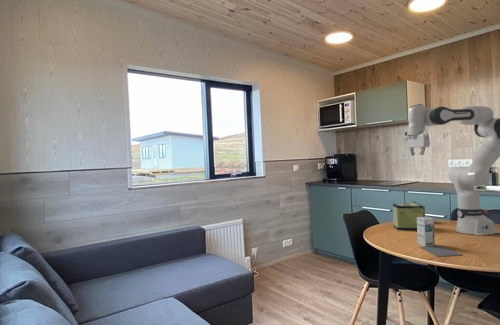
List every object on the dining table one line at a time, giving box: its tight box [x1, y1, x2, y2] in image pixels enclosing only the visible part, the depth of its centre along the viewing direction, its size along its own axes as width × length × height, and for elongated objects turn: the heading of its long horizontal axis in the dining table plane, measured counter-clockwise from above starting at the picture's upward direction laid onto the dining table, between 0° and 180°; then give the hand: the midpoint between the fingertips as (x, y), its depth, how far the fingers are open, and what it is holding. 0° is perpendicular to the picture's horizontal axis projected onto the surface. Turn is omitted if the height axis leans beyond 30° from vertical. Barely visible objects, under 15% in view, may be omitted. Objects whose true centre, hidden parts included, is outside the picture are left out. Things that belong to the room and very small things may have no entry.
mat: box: [419, 245, 463, 257], centre depth 156 cm, size 12×15×1 cm
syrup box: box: [416, 216, 436, 247], centre depth 167 cm, size 6×6×14 cm
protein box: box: [392, 202, 424, 231], centre depth 205 cm, size 10×16×16 cm
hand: (417, 155), depth 188 cm, fingers open, 8 cm apart
